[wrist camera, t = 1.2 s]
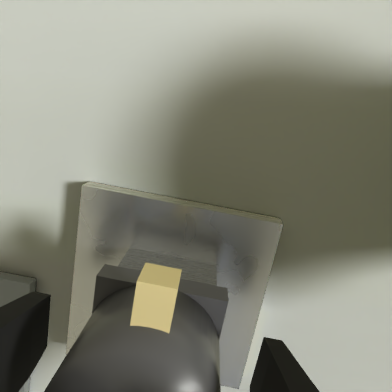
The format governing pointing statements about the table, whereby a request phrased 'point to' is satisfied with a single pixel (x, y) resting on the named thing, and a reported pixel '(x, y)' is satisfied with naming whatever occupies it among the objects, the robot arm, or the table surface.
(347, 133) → the table surface
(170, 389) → the dark grey rounded piece
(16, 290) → the coaster
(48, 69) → the table surface
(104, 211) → the grey square holder
